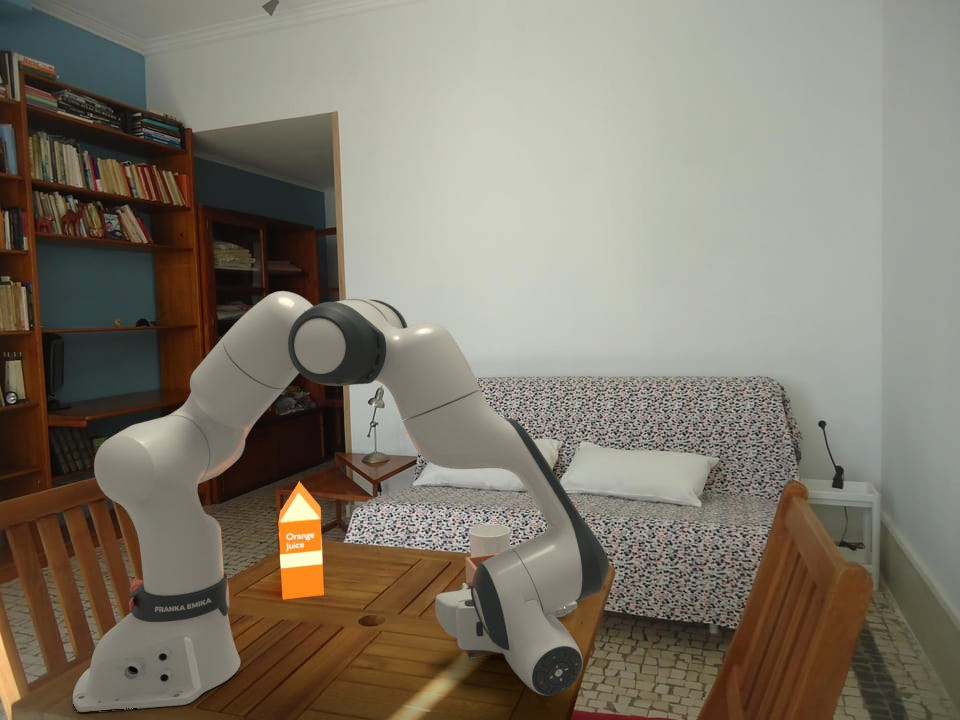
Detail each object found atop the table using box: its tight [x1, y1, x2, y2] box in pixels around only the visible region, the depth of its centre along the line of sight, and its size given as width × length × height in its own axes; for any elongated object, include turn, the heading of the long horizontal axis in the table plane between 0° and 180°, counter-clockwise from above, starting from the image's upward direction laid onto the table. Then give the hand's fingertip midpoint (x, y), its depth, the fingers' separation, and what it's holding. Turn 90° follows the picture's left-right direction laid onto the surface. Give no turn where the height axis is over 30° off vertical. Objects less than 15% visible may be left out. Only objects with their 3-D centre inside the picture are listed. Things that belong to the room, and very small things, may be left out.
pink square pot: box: [464, 553, 499, 584], centre depth 117 cm, size 6×7×10 cm
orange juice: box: [277, 481, 325, 600], centre depth 139 cm, size 8×9×20 cm
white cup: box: [468, 523, 511, 557], centre depth 141 cm, size 8×8×10 cm
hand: (487, 584), depth 118 cm, fingers closed on pink square pot, 6 cm apart
